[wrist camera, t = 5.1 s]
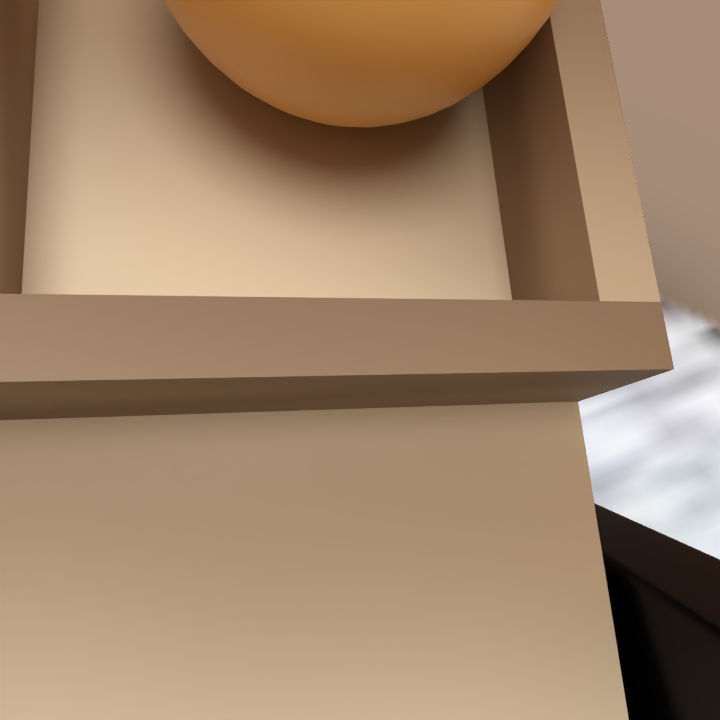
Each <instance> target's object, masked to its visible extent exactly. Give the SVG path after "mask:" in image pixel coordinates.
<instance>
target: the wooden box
mask: <svg viewBox="0 0 720 720" xmlns="http://www.w3.org/2000/svg"><path fill="white" fill-rule="evenodd" d="M673 369H674V367H673V362H672V357H671V352H670V347H669V342H668V337H667V332H666V327H665V322H664V317H663V312H662V307H661V302H660V297H659V292H658V287H657V282H656V277H655V272H654V267H653V262H652V257H651V252H650V247H649V242H648V237H647V232H646V227H645V222H644V217H643V212H642V208H641V202H640V197H639V192H638V187H637V182H636V177H635V172H634V167H633V162H632V157H631V152H630V147H629V142H628V138H627V133H626V127H625V122H624V118H623V112H622V108H621V102H620V97H619V93H618V88H617V83H616V77H615V72H614V67H613V62H612V57H611V52H610V47H609V43H608V37H607V32H606V27H605V23H604V17H603V13H602V7H601V2H600V0H559V1H558V3H557V5H556V6H555V8H554V10H553V11H552V13H551V15H550V16H549V18H548V19H547V21H546V22H545V23H544V24H543V26H542V27H541V28H540V30H539V31H538V32H537V34H536V35H535V36H534V38H533V39H532V40H531V42H530V43H529V44H528V45H527V46H526V47H525V48H524V49H523V50H522V51H521V53H520V54H519V55H518V56H517V57H516V58H515V59H514V60H513V61H512V62H511V63H510V64H509V65H508V66H507V67H506V68H505V69H504V70H502V71H501V72H500V73H499V74H497V75H496V76H495V77H494V78H493V79H491V80H490V81H489V82H488V83H486V84H485V85H484V86H483V87H481V88H479V89H478V90H476V91H475V92H473V93H471V94H470V95H468V96H467V97H465V98H463V99H462V100H460V101H459V102H457V103H455V104H454V105H451V106H449V107H447V108H445V109H442V110H440V111H438V112H436V113H433V114H431V115H429V116H425V117H422V118H418V119H415V120H411V121H408V122H404V123H400V124H394V125H387V126H379V127H368V128H366V127H343V126H333V125H327V124H322V123H318V122H314V121H311V120H307V119H304V118H300V117H297V116H294V115H291V114H289V113H286V112H284V111H282V110H279V109H277V108H275V107H273V106H271V105H269V104H268V103H266V102H264V101H262V100H260V99H258V98H257V97H255V96H253V95H251V94H250V93H248V92H247V91H245V90H244V89H242V88H241V87H239V86H238V85H237V84H236V83H234V82H233V81H232V80H231V79H230V78H228V77H227V76H226V75H225V74H224V73H223V72H221V71H220V70H219V69H218V68H217V67H215V66H214V65H213V64H212V63H211V62H210V61H209V60H208V59H207V58H206V57H205V56H204V54H203V53H202V52H201V51H200V50H199V49H198V48H197V46H196V45H195V44H194V43H193V42H192V41H191V40H190V38H189V37H188V36H187V35H186V34H185V32H184V31H183V30H182V28H181V27H180V25H179V24H178V22H177V21H176V19H175V18H174V16H173V15H172V13H171V12H170V10H169V9H168V8H167V6H166V5H165V3H164V1H163V0H0V720H629V718H628V712H627V705H626V699H625V693H624V687H623V680H622V674H621V668H620V662H619V655H618V649H617V643H616V637H615V630H614V624H613V618H612V612H611V605H610V599H609V593H608V587H607V581H606V574H605V568H604V562H603V556H602V549H601V543H600V537H599V531H598V524H597V518H596V512H595V506H594V499H593V493H592V487H591V481H590V474H589V468H588V462H587V456H586V449H585V443H584V437H583V431H582V424H581V418H580V412H579V406H578V401H581V400H584V399H587V398H590V397H593V396H596V395H599V394H602V393H605V392H607V391H610V390H613V389H616V388H619V387H622V386H625V385H628V384H631V383H634V382H637V381H640V380H643V379H646V378H649V377H652V376H655V375H658V374H661V373H664V372H667V371H670V370H673Z"/></svg>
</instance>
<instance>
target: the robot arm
mask: <svg viewBox="0 0 720 720" xmlns="http://www.w3.org/2000/svg"><path fill="white" fill-rule="evenodd" d="M594 506H595V512H596V518H597V524H598V531H599V537H600V543H601V549H602V556H603V562H604V568H605V574H606V581H607V587H608V593H609V599H610V605H611V612H612V618H613V624H614V630H615V637H616V643H617V649H618V655H619V662H620V668H621V674H622V680H623V687H624V693H625V699H626V705H627V712H628V718H629V720H720V560H719V559H717V558H715V557H713V556H710V555H708V554H706V553H704V552H702V551H699V550H697V549H695V548H693V547H690V546H688V545H686V544H684V543H682V542H679V541H677V540H675V539H673V538H670V537H668V536H666V535H664V534H662V533H659V532H657V531H655V530H653V529H650V528H648V527H646V526H644V525H642V524H639V523H637V522H635V521H633V520H630V519H628V518H626V517H624V516H621V515H619V514H617V513H615V512H613V511H610V510H608V509H606V508H604V507H601V506H599V505H597V504H595V503H594Z"/></svg>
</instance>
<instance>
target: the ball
mask: <svg viewBox="0 0 720 720" xmlns="http://www.w3.org/2000/svg"><path fill="white" fill-rule="evenodd" d="M163 1H164V3H165V5H166V6H167V8H168V9H169V10H170V12H171V13H172V15H173V16H174V18H175V19H176V21H177V22H178V24H179V25H180V27H181V28H182V30H183V31H184V32H185V34H186V35H187V36H188V37H189V38H190V40H191V41H192V42H193V43H194V44H195V45H196V46H197V48H198V49H199V50H200V51H201V52H202V53H203V54H204V56H205V57H206V58H207V59H208V60H209V61H210V62H211V63H212V64H213V65H214V66H215V67H217V68H218V69H219V70H220V71H221V72H223V73H224V74H225V75H226V76H227V77H228V78H230V79H231V80H232V81H233V82H234V83H236V84H237V85H238V86H239V87H241V88H242V89H244V90H245V91H247V92H248V93H250V94H251V95H253V96H255V97H257V98H258V99H260V100H262V101H264V102H266V103H268V104H269V105H271V106H273V107H275V108H277V109H279V110H282V111H284V112H286V113H289V114H291V115H294V116H297V117H300V118H304V119H307V120H311V121H314V122H318V123H322V124H327V125H333V126H343V127H366V128H368V127H379V126H387V125H394V124H400V123H404V122H408V121H411V120H415V119H418V118H422V117H425V116H429V115H431V114H433V113H436V112H438V111H440V110H442V109H445V108H447V107H449V106H451V105H454V104H455V103H457V102H459V101H460V100H462V99H463V98H465V97H467V96H468V95H470V94H471V93H473V92H475V91H476V90H478V89H479V88H481V87H483V86H484V85H485V84H486V83H488V82H489V81H490V80H491V79H493V78H494V77H495V76H496V75H497V74H499V73H500V72H501V71H502V70H504V69H505V68H506V67H507V66H508V65H509V64H510V63H511V62H512V61H513V60H514V59H515V58H516V57H517V56H518V55H519V54H520V53H521V51H522V50H523V49H524V48H525V47H526V46H527V45H528V44H529V43H530V42H531V40H532V39H533V38H534V36H535V35H536V34H537V32H538V31H539V30H540V28H541V27H542V26H543V24H544V23H545V22H546V21H547V19H548V18H549V16H550V15H551V13H552V11H553V10H554V8H555V6H556V5H557V3H558V1H559V0H163Z"/></svg>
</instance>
